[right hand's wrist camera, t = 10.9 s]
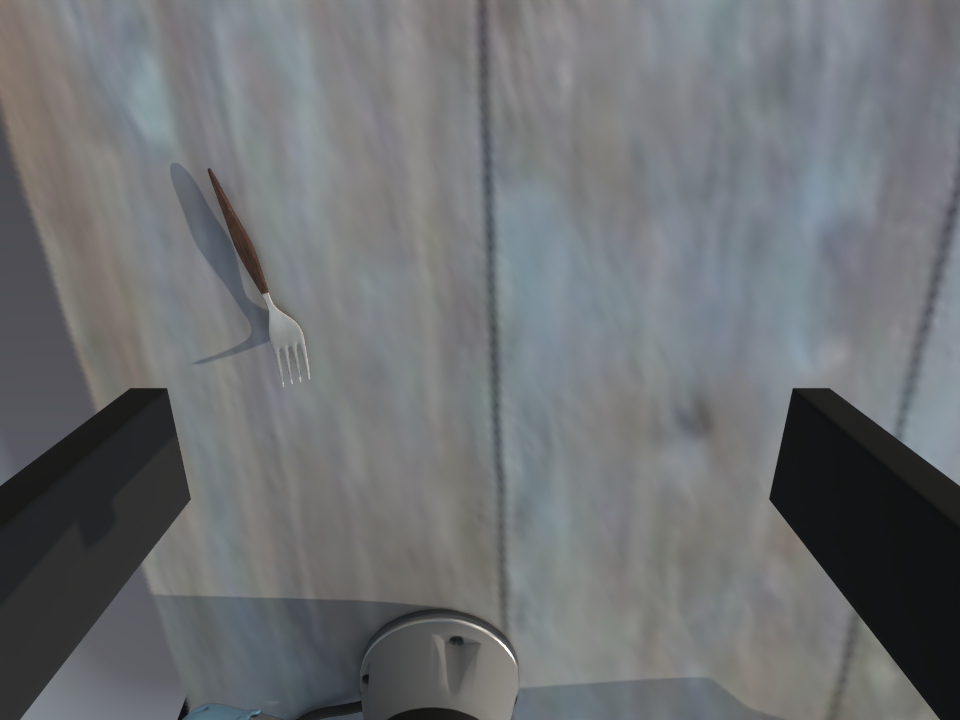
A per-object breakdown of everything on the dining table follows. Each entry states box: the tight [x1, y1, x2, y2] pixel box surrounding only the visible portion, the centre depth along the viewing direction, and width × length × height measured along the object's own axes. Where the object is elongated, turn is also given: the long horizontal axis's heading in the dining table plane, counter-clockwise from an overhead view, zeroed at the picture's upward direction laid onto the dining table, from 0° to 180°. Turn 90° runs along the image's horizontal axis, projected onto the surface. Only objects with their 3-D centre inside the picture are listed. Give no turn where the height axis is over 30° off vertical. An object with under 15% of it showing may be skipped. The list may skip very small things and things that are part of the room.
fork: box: [208, 169, 310, 387], centre depth 42 cm, size 3×16×2 cm, turn 17°
